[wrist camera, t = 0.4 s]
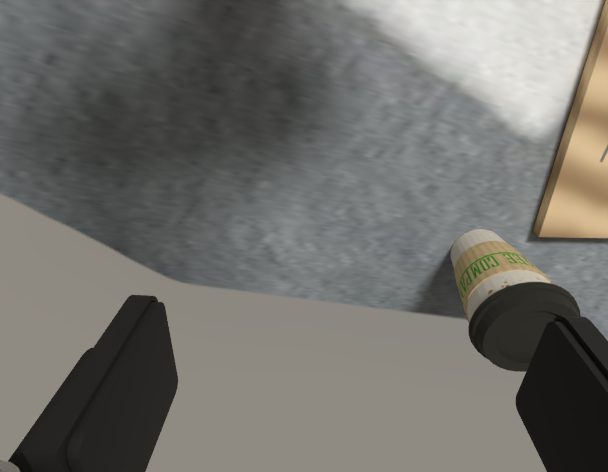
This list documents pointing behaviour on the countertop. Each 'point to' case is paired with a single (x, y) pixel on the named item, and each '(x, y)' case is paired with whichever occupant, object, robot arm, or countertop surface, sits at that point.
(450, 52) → the countertop surface
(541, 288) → the coffee cup
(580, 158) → the board
